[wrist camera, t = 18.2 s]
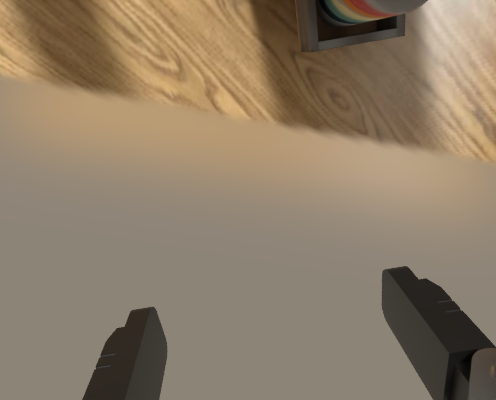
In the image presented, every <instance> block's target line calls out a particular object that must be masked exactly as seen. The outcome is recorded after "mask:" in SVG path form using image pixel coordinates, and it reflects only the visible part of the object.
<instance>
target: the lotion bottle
mask: <svg viewBox="0 0 496 400" xmlns="http://www.w3.org/2000/svg"><path fill="white" fill-rule="evenodd" d="M315 1H316V10H317V12H318V15H319V16H320V18H321V19H322V20H323V21H324V22H325V23H326V24H328V25H330V26H333V27H345V26H350V25H355V24H359V23H364V22H369V21H374V20H378V19H383V18H388V17H392V16H397V15H401V14H405V13H408V12H411V11H413V10H415V9H417V8H419V7H420V6H422V5H423V4H424V3H425V2H426V1H428V0H315Z"/></svg>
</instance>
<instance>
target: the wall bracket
mask: <svg viewBox="0 0 496 400" xmlns="http://www.w3.org/2000/svg"><path fill="white" fill-rule="evenodd" d="M295 7H296V18H297V29H298V40H299V51H300V52H314V51H320V50H325V49H331V48H337V47H343V46H348V45H354V44H360V43H365V42H371V41H377V40H382V39H388V38H394V37H399V36H405V14H401V15H397V16H392V17H388V18H383V19H378V20H374V21H369V22H364V23H359V24H355V25H350V26H345V27H333V26H330V25H328V24H326V23H325V22H324V21H323V20H322V19H321V18H320V16H319V15H318V12H317V10H316V1H315V0H295Z"/></svg>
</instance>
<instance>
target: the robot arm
mask: <svg viewBox="0 0 496 400" xmlns="http://www.w3.org/2000/svg"><path fill="white" fill-rule="evenodd" d="M382 309H383V313H384V317H385V319H386V321H387V323H388V325H389V327H390V328H391V330H392V331H393V333H394V335H395V336H396V338H397V340H398V342H399V343H400V345H401V347H402V348H403V350H404V352H405V353H406V355H407V356H408V358H409V360H410V362H411V363H412V365H413V367H414V368H415V370H416V372H417V373H418V375H419V377H420V378H421V380H422V382H423V383H424V385H425V387H426V388H427V390H428V391H429V393H430V395H431V397H432V398H433V400H496V347H495V346H494V345H493V343H492V342H491V341H490V340H489V339H488V338H487V337H486V336H485V335H484V334H483V333H482V332H481V331H480V329H479V328H478V327H477V326H476V325H475V324H474V323H473V322H472V321H471V319H470V318H469V317H468V316H467V315H466V314H465V313H464V312H463V311H461V310H460V308H459V306H458V305H457V304H456V303H455V302H454V301H452V299H451V298H450V297H449V295H448V294H447V293H446V292H445V291H444V290H443V289H442V288H441V287H440V286H438V285H436V284H435V283H433V282H431V281H429V280H428V279H420V280H419V279H418V278H417V277H416V276H415V275H414V274H413V272H412V271H411V270H410V269H409V268H408V267H407V266H403V267H398V268H391V269H385V270H383V273H382ZM166 360H167V342H166V338H165V335H164V332H163V329H162V326H161V323H160V320H159V317H158V314H157V311H156V309H155V308H154V307H148V308H143V309H136V310H132V311H131V312H130V314H129V317H128V319H127V322H126V325H125V327H121V328H117V329H116V330H115V331H114V332H113V334H112V335H111V336H110V337H109V338H108V340H107V341H106V343H105V345H104V348H103V350H102V353H101V358H99V360H98V363H97V365H96V370H94V373H93V375H92V377H91V380H90V382H89V385H88V387H87V390H86V392H85V395H84V397H83V399H82V400H159V397H160V392H161V387H162V381H163V376H164V371H165V365H166Z"/></svg>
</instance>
